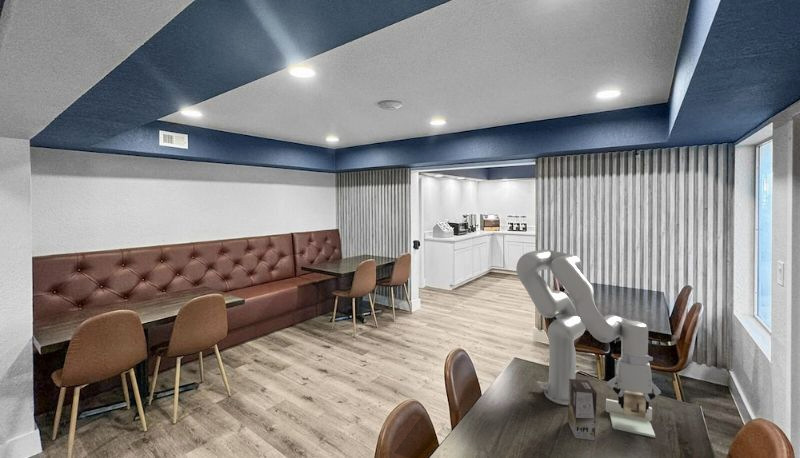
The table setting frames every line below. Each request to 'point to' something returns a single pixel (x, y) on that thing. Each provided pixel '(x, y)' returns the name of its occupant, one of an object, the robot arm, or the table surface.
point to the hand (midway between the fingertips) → (633, 408)
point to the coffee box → (582, 409)
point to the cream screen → (616, 408)
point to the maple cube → (634, 404)
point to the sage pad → (632, 424)
